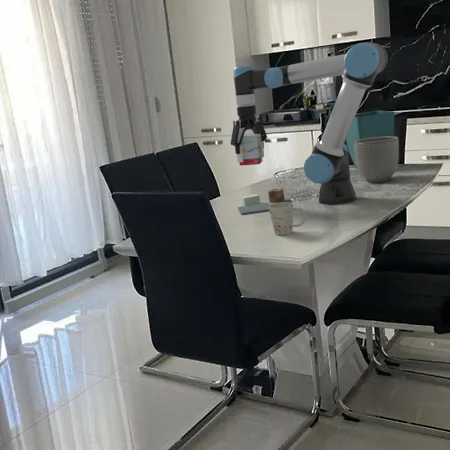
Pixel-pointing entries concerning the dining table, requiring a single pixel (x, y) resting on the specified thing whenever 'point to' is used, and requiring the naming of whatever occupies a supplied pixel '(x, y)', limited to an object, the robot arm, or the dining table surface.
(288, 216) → the mug
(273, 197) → the walnut block
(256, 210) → the slate pad
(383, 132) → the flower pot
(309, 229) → the dining table surface
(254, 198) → the sage block
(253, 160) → the ink box
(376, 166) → the planter
